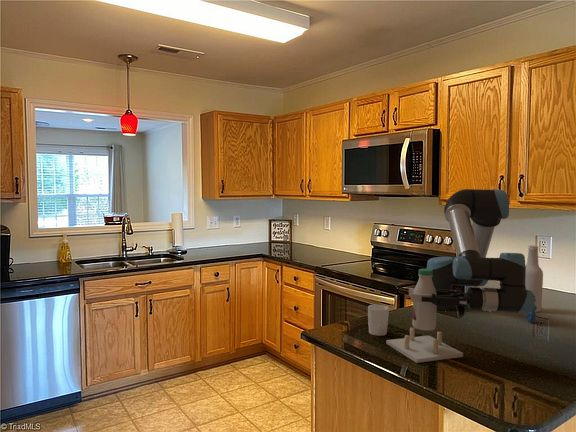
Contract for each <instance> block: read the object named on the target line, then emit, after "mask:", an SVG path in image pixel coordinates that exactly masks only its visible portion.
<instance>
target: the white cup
mask: <svg viewBox="0 0 576 432" xmlns="http://www.w3.org/2000/svg"><path fill="white" fill-rule="evenodd" d="M389 312H390V307H389V306H387V305H382V304H369V305H368V306H367V323H368V333H369V334H370V335H372V336H377V337H378V336H379V337H381V336H386V335H388V334H387V333H388V325H389V314H390V313H389Z"/></svg>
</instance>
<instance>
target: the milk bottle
mask: <svg viewBox="0 0 576 432" xmlns="http://www.w3.org/2000/svg"><path fill="white" fill-rule="evenodd" d="M432 275H433V270H431V269H427V268H419V269H418V281H417V283H416V286H415V287H414V288H415V289H414V294H429V295H432V294H435V296H437V295H436V290H435V287H434V285H433V282H432ZM436 309H437V306H436V305H435V304H432V302H431V303H420V302H412V316H411V317H412V319H411V322H412V323H411V325H412V328H415V330H416V329H417V330H420V331H434V330H436V327H437V310H436Z"/></svg>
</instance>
